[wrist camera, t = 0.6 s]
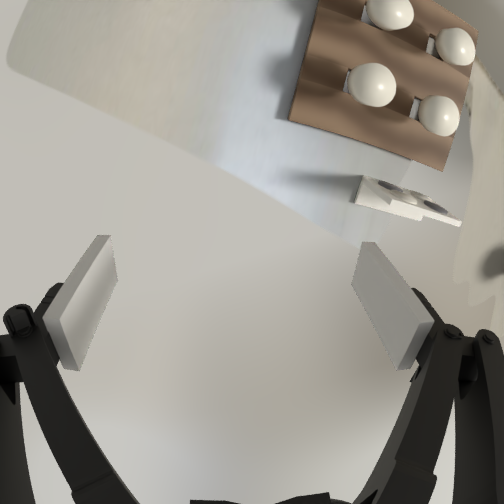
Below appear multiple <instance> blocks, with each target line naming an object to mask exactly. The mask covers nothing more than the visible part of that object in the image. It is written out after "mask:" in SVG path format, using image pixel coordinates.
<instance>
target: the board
mask: <svg viewBox="0 0 504 504" xmlns="http://www.w3.org/2000/svg"><path fill="white" fill-rule="evenodd" d="M367 1H368V0H319V1H318V5H317V9H316V13H315V16H314V20H313V24H312V28H311V32H310V35H309V39H308V43H307V47H306V51H305V55H304V58H303V62H302V66H301V70H300V74H299V77H298V81H297V85H296V89H295V93H294V96H293V100H292V104H291V108H290V112H289V116H288V120H290V121H294V122H298V123H302V124H306V125H309V126H313V127H316V128H320V129H323V130H327V131H330V132H334V133H337V134H340V135H343V136H347V137H350V138H353V139H356V140H359V141H362V142H365V143H368V144H371V145H374V146H377V147H380V148H383V149H385V150H388V151H391V152H394V153H396V154H399V155H402V156H404V157H407V158H410V159H412V160H415V161H417V162H420V163H422V164H425V165H427V166H430V167H432V168H434V169H437V170H439V171H441V172H443V169H444V166H445V163H446V160H447V157H448V154H449V151H450V148H451V145H452V141H453V138H454V135H455V132H456V130H455V132H454V133H453V134H451V135H449V136H440V135H437V134H434V133H432V132H429V131H427V130H426V129H425V128H424V127H423V126H422V125H421V123H420V122H418V121H416V120H414V119H412V118H409V115H410V111H411V108H412V104H413V101H414V97H415V98H417V99H420V100H423V99H424V98H425V97H426V96H429V95H438V96H444V97H448V98H450V99H451V100H452V101H453V102H454V103H455V104H456V106H457V108H458V111H459V118H460V114H461V111H462V107H463V103H464V99H465V95H466V91H467V87H468V83H469V78H470V74H471V69H472V64H473V62H472V63H471V64H469V65H451V64H448V63H446V62H445V61H444V60H443V59H442V58H441V57H439V59H437V58H435V57H434V56H432V55H430V54H428V53H426V48H427V44H428V39H429V36H431V37H432V38H434V39H436V36H437V34H438V32H439V31H440V30H443V29H449V28H460V29H463V30H464V31H466V32H467V33H468V34H469V36H470V37H471V39H472V41H473V43H474V46H475V49H476V43H477V37H478V31H477V30H476V29H474V28H473V27H472V26H470V25H469V24H467V23H466V22H464V21H463V20H462V19H460V18H459V17H457V16H456V15H454V14H453V13H451V12H449V11H448V10H447V9H445V8H443V7H442V6H440V5H439V4H437V3H435V2H434V1H432V0H409V2H410V3H411V5H412V8H413V12H414V17H413V21H412V23H411V24H410V25H409V26H408V27H405V28H402V29H397V30H392V31H388V30H383V29H381V28H380V29H378V28H375V27H373V26H371V25H368V24H366V23H363V22H361V17H362V13H363V9H364V4H366V3H367ZM366 63H378V64H381V65H383V66H385V67H387V68H388V69H389V70H390V71H391V73H392V74H393V76H394V78H395V81H396V93H395V96H394V98H393V99H392V100H391V102H389V103H388V104H387V105H385V106H381V107H374V106H369V105H364V104H361V103H359V102H357V101H356V100H355V99H354V98H353V97H352V96H351V94H348V93H346V92H343V87H344V83H345V80H346V76H347V72H348V70H352V69H353V68H354V67H355V66H357V65H360V64H366Z"/></svg>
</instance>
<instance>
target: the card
mask: <svg viewBox="0 0 504 504" xmlns="http://www.w3.org/2000/svg"><path fill="white" fill-rule="evenodd" d="M354 203H355V204H359V205H363V206H367V207H370V208H374V209H378V210H382V211H385V212H389V213H393V214H396V215H400V216H403V217H407V218H410V219H414V220H417V221H421V220H422V217H423V216H426V217H430V218H433V219H436V220H439V221H442V222H445V223H448V224H452V225H454V226H457V227H460V225H461V221H460V220H459V219H457V218H456V217H455V216H453V215H452V214H451V213H449V212H448V211H447V210H445V209H444V208H443V207H441V206H440V205H438V204H437V203H436V202H434V201H432V200H431V199H430V198H429V197H428V196H425V195H422V194H420V193H417V192H415V191H411V190H408V189H404V188H402V187H399V186H396V185H393V184H390V183H388V182H385V181H380V180H377V179H373V178H370V177H367V176H363V177H362V180H361V183H360V186H359V189H358V192H357V195H356V198H355V200H354Z"/></svg>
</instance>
